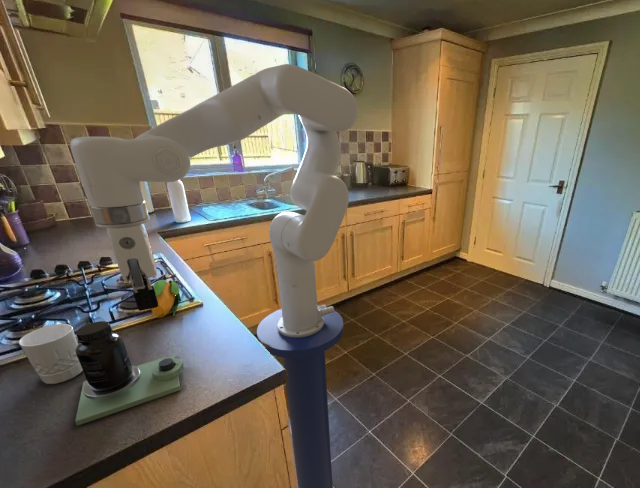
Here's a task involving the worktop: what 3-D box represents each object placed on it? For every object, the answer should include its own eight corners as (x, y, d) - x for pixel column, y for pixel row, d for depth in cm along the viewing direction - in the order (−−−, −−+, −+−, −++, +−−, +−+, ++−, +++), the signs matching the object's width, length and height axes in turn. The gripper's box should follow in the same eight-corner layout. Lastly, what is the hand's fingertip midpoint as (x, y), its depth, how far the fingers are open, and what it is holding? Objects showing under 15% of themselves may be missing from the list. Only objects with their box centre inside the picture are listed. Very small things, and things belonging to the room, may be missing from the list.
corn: (176, 271, 102) (172, 298, 86) (183, 292, 105) (181, 322, 89) (148, 276, 99) (139, 306, 83) (156, 298, 102) (149, 331, 86)
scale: (181, 356, 76) (179, 347, 75) (187, 387, 67) (185, 378, 66) (85, 385, 67) (80, 376, 66) (77, 426, 58) (72, 415, 57)
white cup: (40, 371, 71) (21, 332, 67) (88, 357, 75) (72, 319, 71) (37, 392, 65) (15, 351, 61) (88, 375, 70) (71, 336, 66)
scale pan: (140, 362, 70) (139, 359, 70) (141, 387, 64) (139, 384, 63) (87, 378, 65) (85, 375, 65) (81, 407, 59) (80, 403, 59)
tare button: (174, 362, 71) (172, 356, 70) (175, 369, 69) (173, 363, 68) (159, 366, 70) (158, 360, 69) (160, 373, 68) (158, 367, 67)
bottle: (172, 220, 184) (159, 165, 172) (187, 218, 190) (175, 164, 178) (178, 223, 179) (165, 166, 168) (193, 220, 185) (182, 165, 173)
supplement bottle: (141, 374, 66) (124, 323, 61) (103, 397, 60) (80, 342, 55) (121, 364, 68) (103, 314, 64) (82, 385, 63) (59, 332, 58)
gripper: (148, 221, 53) (174, 319, 60) (146, 204, 64) (168, 288, 71) (88, 227, 49) (123, 331, 56) (97, 208, 60) (125, 296, 67)
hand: (148, 307), depth 63 cm, fingers closed
